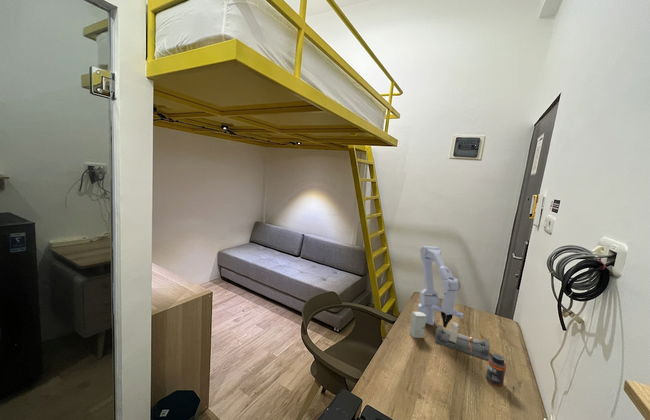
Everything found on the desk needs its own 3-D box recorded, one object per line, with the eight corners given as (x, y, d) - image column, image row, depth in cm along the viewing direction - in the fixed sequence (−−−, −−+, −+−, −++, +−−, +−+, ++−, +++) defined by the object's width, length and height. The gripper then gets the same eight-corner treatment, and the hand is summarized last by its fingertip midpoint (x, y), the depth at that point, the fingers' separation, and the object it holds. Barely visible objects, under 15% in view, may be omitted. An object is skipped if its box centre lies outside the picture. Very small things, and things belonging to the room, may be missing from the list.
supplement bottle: (499, 378, 103) (504, 354, 101) (505, 389, 97) (510, 363, 96) (483, 373, 105) (488, 349, 103) (487, 384, 99) (492, 359, 98)
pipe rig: (434, 342, 123) (436, 332, 122) (435, 330, 134) (436, 320, 133) (490, 361, 113) (492, 350, 112) (486, 346, 124) (488, 336, 123)
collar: (449, 340, 123) (451, 325, 122) (449, 335, 128) (451, 320, 127) (455, 342, 122) (458, 327, 121) (455, 337, 127) (457, 322, 126)
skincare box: (413, 338, 125) (416, 316, 124) (408, 332, 130) (411, 311, 128) (424, 337, 126) (427, 316, 125) (419, 332, 130) (422, 311, 129)
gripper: (433, 300, 124) (429, 325, 126) (465, 309, 118) (460, 335, 119) (433, 295, 130) (429, 318, 132) (464, 303, 124) (459, 328, 126)
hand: (444, 326), depth 126 cm, fingers closed
